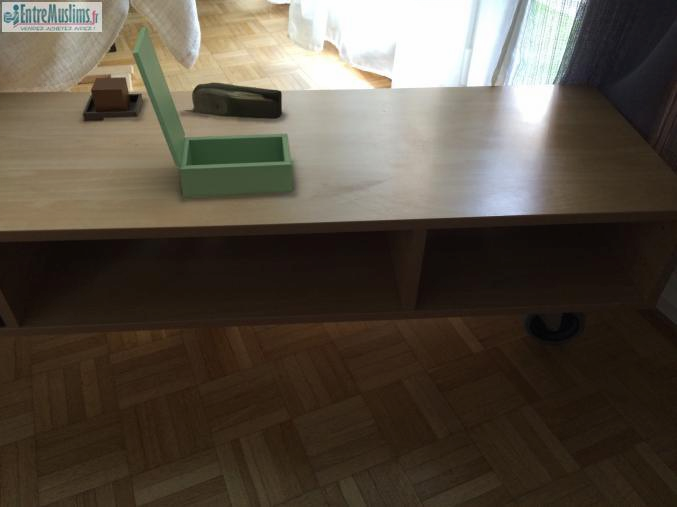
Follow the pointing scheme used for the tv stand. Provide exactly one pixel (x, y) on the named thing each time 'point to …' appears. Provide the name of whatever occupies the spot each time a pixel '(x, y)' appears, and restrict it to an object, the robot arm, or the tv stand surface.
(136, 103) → the tray
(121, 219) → the tv stand surface
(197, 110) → the dark green elongated piece
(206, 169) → the box
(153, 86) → the lid
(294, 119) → the tv stand surface
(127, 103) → the block
